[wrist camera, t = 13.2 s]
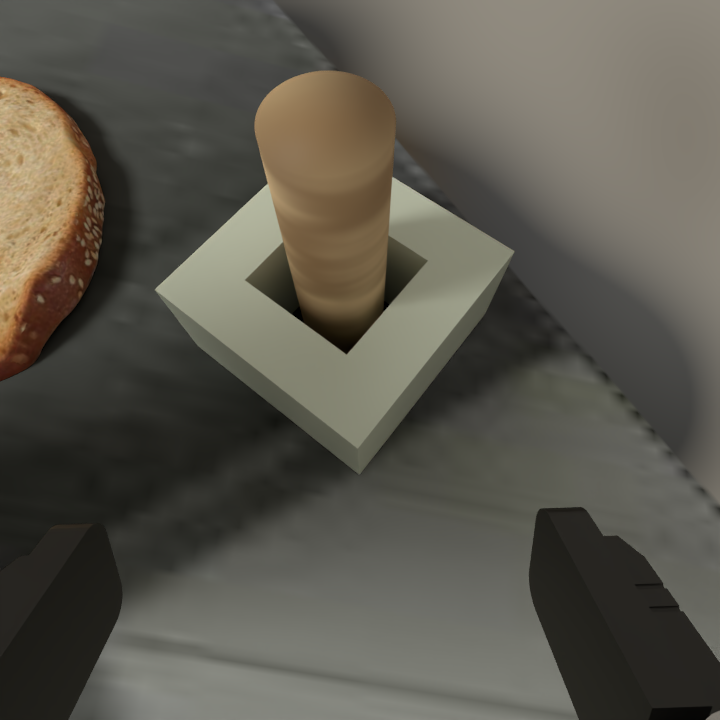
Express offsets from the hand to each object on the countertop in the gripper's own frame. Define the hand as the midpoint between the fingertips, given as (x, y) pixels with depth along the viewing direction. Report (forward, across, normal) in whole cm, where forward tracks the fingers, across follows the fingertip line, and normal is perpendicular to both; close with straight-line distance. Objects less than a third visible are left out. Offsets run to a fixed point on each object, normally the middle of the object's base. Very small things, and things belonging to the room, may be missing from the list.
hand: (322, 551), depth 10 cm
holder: (+18, 0, +2) cm, 19 cm away
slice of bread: (+25, +21, -3) cm, 32 cm away
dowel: (+18, 0, +2) cm, 19 cm away
